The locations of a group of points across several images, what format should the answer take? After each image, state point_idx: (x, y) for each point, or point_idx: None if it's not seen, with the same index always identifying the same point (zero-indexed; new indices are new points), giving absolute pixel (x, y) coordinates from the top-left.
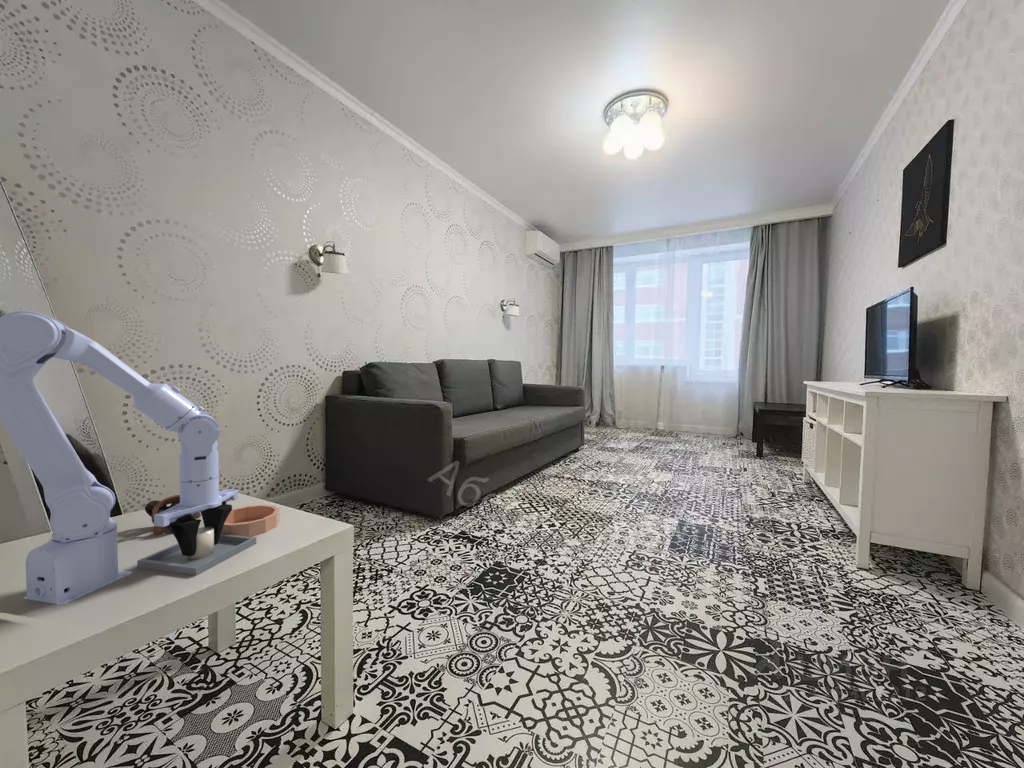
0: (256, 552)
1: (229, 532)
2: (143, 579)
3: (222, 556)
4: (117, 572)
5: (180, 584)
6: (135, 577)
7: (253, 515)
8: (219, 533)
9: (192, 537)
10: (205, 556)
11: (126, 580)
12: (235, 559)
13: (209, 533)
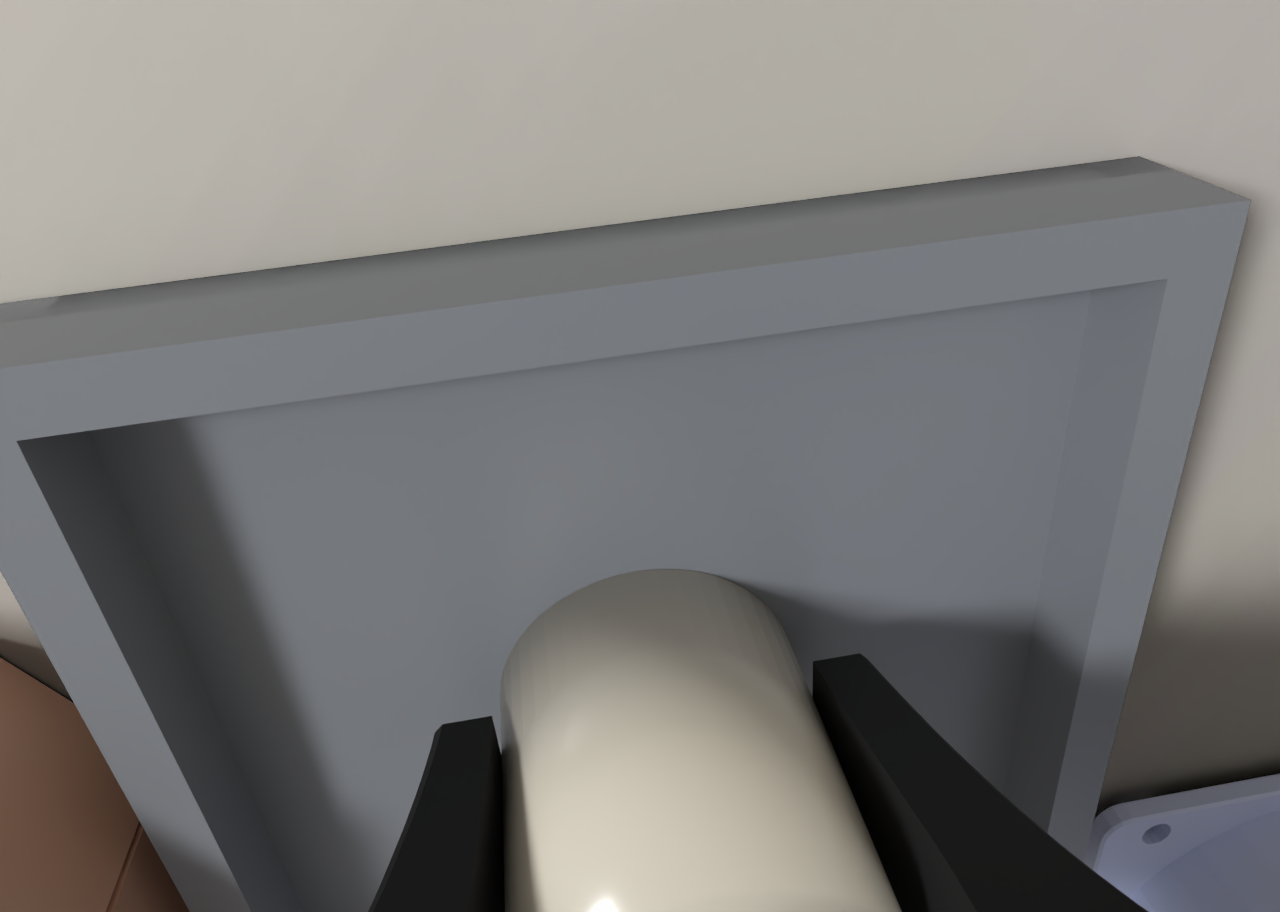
0: (130, 69)
1: (127, 898)
2: (1152, 672)
3: (739, 261)
4: (1191, 888)
5: (1267, 218)
6: (1118, 758)
7: None
8: (427, 852)
9: (1050, 879)
10: (697, 577)
11: (1170, 764)
12: (500, 189)
13: (708, 868)
